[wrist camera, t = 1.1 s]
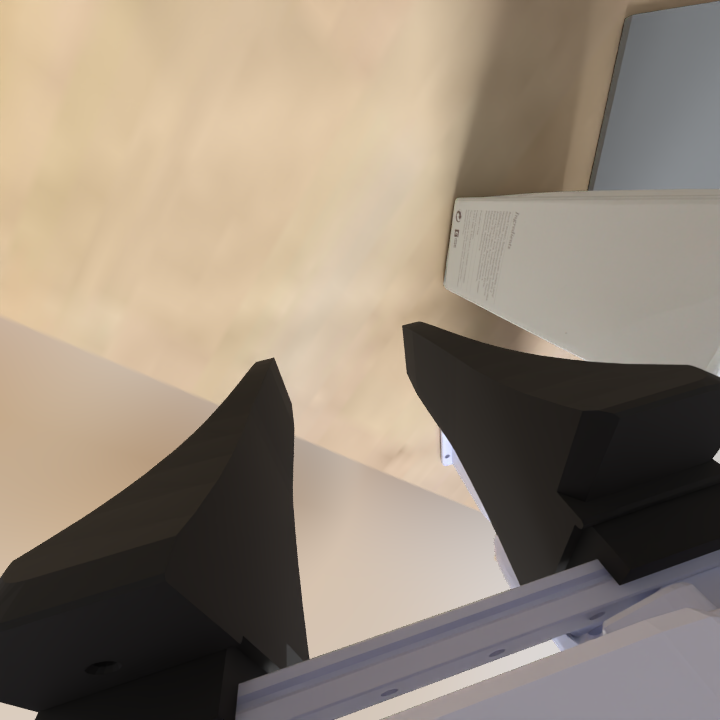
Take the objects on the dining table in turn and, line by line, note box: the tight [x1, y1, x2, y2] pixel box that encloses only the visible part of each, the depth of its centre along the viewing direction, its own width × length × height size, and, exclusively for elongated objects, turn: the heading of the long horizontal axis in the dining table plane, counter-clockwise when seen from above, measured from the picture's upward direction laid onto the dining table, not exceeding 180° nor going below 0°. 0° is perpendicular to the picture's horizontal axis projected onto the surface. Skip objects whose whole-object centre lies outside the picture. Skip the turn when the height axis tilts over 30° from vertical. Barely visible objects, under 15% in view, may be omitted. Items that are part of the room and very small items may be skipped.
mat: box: [588, 1, 720, 191], centre depth 22 cm, size 20×18×1 cm
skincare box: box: [444, 189, 720, 377], centre depth 14 cm, size 8×6×15 cm
